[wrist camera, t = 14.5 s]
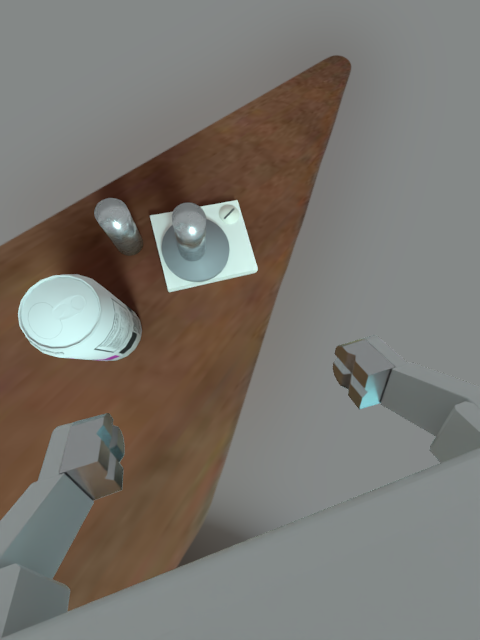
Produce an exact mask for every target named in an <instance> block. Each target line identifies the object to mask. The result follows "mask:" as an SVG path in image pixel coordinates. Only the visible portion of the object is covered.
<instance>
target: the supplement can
mask: <svg viewBox="0 0 480 640" xmlns="http://www.w3.org/2000/svg"><path fill="white" fill-rule="evenodd" d="M18 317H19V325H20V328H21V329H22V331H23V333H24V334H25V336H26V338H28V340H29V342H30V343H31V344H32V345H33V346H34V347H36V348H37V349H38V350H40V351H41V352H42V353H45V354H48V355H52V356H55V357H59V358H73V359H86V360H100V361H114V360H119V359H121V358H124V357H126V356H128V355H129V354H130V353H131V352H132V351H134V350H135V348H136V347H137V345H138V343H139V342H140V339H141V333H142V328H141V323H140V320H139V318H138V317H137V315H136V313H135V312H134V311H132V310H131V309H130V308H129V307H127V306H126V305H125V304H124V303H122V302H121V301H120V300H119V299H117V298H116V297H115V296H114V295H112V294H111V293H110V292H109V291H108V290H106V289H105V288H104V287H102V286H101V285H100V284H98V283H97V282H96V281H94V280H93V279H92V278H88V277H85V276H82V275H79V274H63V275H54V276H51V277H48V278H45V279H42V280H40V281H39V282H38V283H36V284H35V285H33V286H32V287H31V288H29V290H28V291H27V293H26V294H25V295H24V297H23V298H22V300H21V303H20V307H19V311H18Z"/></svg>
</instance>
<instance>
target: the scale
mask: <svg viewBox="0 0 480 640" xmlns="http://www.w3.org/2000/svg"><path fill="white" fill-rule="evenodd" d="M201 208H202V209H203V211H204V212H205V215H206V251H205V254H204V256H203V257H202V258H201V259H200V260H197V261H187V260H185V259H184V258H182V257H181V255H180V253H179V250H178V246H177V241H176V237H175V232H174V227H173V223H172V213H173V212H167V213H162V214H156V215H150V219H151V223H152V227H153V231H154V235H155V239H156V243H157V247H158V251H159V255H160V260H161V264H162V268H163V272H164V276H165V280H166V284H167V288H168V291H169V292H173V291H177V290H181V289H186V288H190V287H195V286H199V285H203V284H208V283H212V282H217V281H221V280H225V279H230V278H234V277H239V276H243V275H247V274H252V273H256V272H257V270H258V268H257V264H256V261H255V258H254V254H253V251H252V248H251V244H250V241H249V237H248V234H247V231H246V227H245V224H244V221H243V217H242V214H241V211H240V207H239V204H238V200H235V201H229V202H224V203H218V204H212V205H207V206H201Z"/></svg>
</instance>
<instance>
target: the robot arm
mask: <svg viewBox="0 0 480 640" xmlns="http://www.w3.org/2000/svg"><path fill="white" fill-rule="evenodd" d="M335 355H336V356H337V359H336V360H335V361H334V363H333V371H334V375H335V377H336V379H337V381H338V382H339V384H340V385H341V386H342V387H344V388H347V389H348V395H349V397H350V398H351V399H352V401H353V402H354V403H355V405H356V406H357V407H358V408H359V409H363V408H365V407H369V406H372V405H376V404H379V403H381V405H382V406H384V407H386V408H388V409H390V410H391V411H393V412H395V413H396V414H398V415H400V416H402V417H404V418H405V419H407V420H408V421H410V422H412V423H414V424H415V425H417V426H419V427H420V428H422V429H424V430H426V431H428V432H429V433H431V434H433V435H434V436H436V438H435V439H434V441H433V442H432V444H431V446H430V451H431V452H432V454H433V455H434V456H435V457H436V458H437V459H438V461H439V462H440V464H437V465H435V466H432V467H430V468H427V469H425V470H422V471H420V472H417V473H415V474H412V475H409V476H407V477H404V478H402V479H399V480H397V481H395V482H392V483H389V484H387V485H384V486H382V487H380V488H377V489H374V490H372V491H369V492H367V493H364V494H362V495H359V496H357V497H355V498H352V499H349V500H347V501H344V502H342V503H339V504H337V505H334V506H332V507H329V508H327V509H324V510H322V511H319V512H317V513H314V514H312V515H309V516H307V517H304V518H302V519H299V520H297V521H294V522H291V523H289V524H287V525H284V526H281V527H279V528H277V529H274V530H271V531H269V532H266V533H264V534H261V535H259V536H256V537H254V538H251V539H249V540H246V541H244V542H241V543H239V544H236V545H234V546H231V547H229V548H226V549H224V550H221V551H219V552H217V553H214V554H211V555H209V556H206V557H204V558H202V559H199V560H196V561H194V562H191V563H189V564H186V565H184V566H181V567H179V568H176V569H174V570H171V571H169V572H166V573H163V574H161V575H158V576H156V577H153V578H151V579H148V580H146V581H143V582H141V583H138V584H136V585H133V586H131V587H128V588H126V589H123V590H121V591H118V592H116V593H113V594H111V595H108V596H106V597H103V598H101V599H98V600H96V601H93V602H91V603H88V604H86V605H83V606H81V607H78V608H76V609H73V610H71V611H68V612H67V609H68V602H69V595H70V589H69V588H68V586H67V585H64V584H62V583H60V582H58V581H55V580H53V577H54V575H55V573H56V571H57V570H58V568H59V566H60V564H61V562H62V560H63V558H64V557H65V555H66V553H67V551H68V549H69V547H70V545H71V544H72V542H73V540H74V538H75V536H76V534H77V533H78V531H79V529H80V527H81V525H82V523H83V521H84V520H85V518H86V516H87V514H88V512H89V510H90V508H91V507H92V505H93V503H94V501H93V500H96V499H99V498H101V497H104V496H107V495H110V494H112V493H115V492H118V491H120V490H122V483H123V467H122V466H121V465H120V463H119V462H120V461H121V459H122V458H123V456H124V447H125V446H124V439H123V435H122V432H121V430H120V429H119V427H117V426H114V425H113V418H112V417H111V415H110V414H109V413H107V414H103V415H99V416H95V417H91V418H88V419H84V420H80V421H76V422H73V423H70V424H66V425H62V426H59V427H56V428H55V430H54V431H53V433H52V436H51V439H50V442H49V445H48V449H47V452H46V455H45V459H44V462H43V465H42V469H41V472H40V475H39V479H38V481H37V482H34V483H32V484H31V485H30V486H29V488H28V489H27V490H26V491H25V492H24V493H23V495H22V496H21V497H20V498H19V499H18V501H17V502H16V503H15V504H14V505H13V507H12V508H11V509H10V510H9V511H8V513H7V514H6V515H5V516H4V517H3V518H2V520H1V521H0V640H480V386H478V385H475V384H472V383H469V382H467V381H464V380H461V379H458V378H455V377H453V376H450V375H447V374H444V373H441V372H439V371H436V370H433V369H430V368H427V367H424V366H422V365H419V364H416V363H408V362H407V361H406V360H405V359H403V358H402V357H401V356H400V355H399V354H398V353H397V352H396V351H394V350H393V349H392V348H391V347H390V346H389V345H388V344H386V343H385V342H384V341H383V340H382V339H381V338H380V337H378V336H376V335H373V336H369V337H366V338H363V339H359V340H355V341H352V342H349V343H346V344H342V345H339V346H338V347H337V348H336V350H335Z"/></svg>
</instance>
